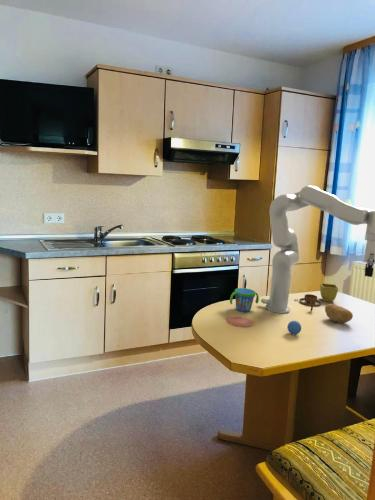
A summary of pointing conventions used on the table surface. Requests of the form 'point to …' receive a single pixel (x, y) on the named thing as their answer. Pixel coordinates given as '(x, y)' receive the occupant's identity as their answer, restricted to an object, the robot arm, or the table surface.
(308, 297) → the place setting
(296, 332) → the ball
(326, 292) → the flower pot
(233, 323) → the disc
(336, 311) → the potato
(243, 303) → the snack cup
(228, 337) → the table surface
